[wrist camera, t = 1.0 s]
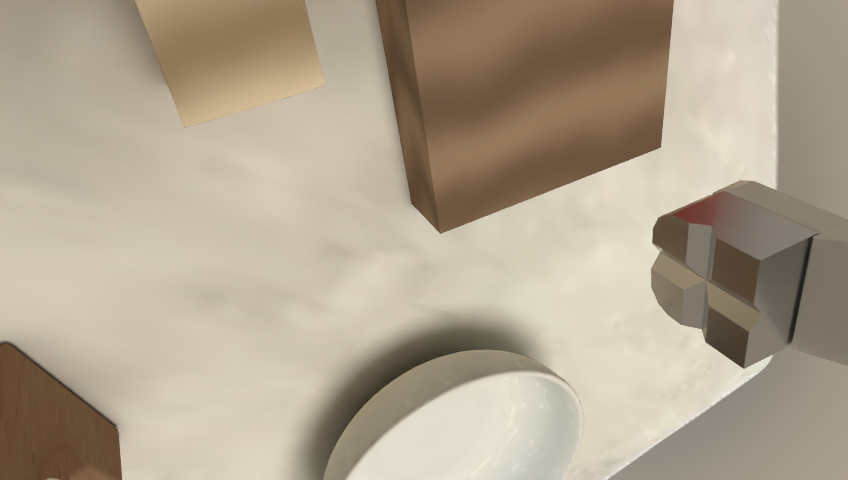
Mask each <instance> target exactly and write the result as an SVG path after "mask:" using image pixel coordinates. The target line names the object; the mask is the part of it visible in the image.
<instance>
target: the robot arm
mask: <svg viewBox="0 0 848 480" xmlns="http://www.w3.org/2000/svg"><path fill="white" fill-rule="evenodd" d="M652 243H653V244H654V246H655V247H656V248H657V249H658V250H659V251H660V253H659V255H658V257H657V259H656V260H655V262H654V264H653V266H652V268H651V287H652V289H653V292H654V294H655V296H656V299H657V301H658V303H659V305H660V306H661V307H662V308H663V310H664V311H665V312H666V313H667V314H668V315H669V316H670V317H671V318H673V319H674V320H676V321H677V322H678V323H680V324H681V325H685V326H689V327H694V328H699V329H702V332H703V336H704V339H705V342H706V343H708V344H709V345H710V346H712V347H713V348H715V349H716V350H718V351H719V352H720V353H722V354H723V355H725V356H726V357H728V358H729V359H730V360H732V361H733V362H735V363H736V364H737V365H739V366H740V367H742V368H743V369H745V368H747V367H749V366H751V365H753V364H755V363H757V362H759V361H761V360H763V359H765V358H767V357H769V356H771V355H773V354H775V353H777V352H779V351H780V350H783V349H784V348H786V347H788V346H790V345H792V346H791V348H792V349H794V350H797V351H801V352H804V353H808V354H810V355H814V356H817V357H820V358H824V359H827V360H830V361H834V362H837V363H840V364H844V365H847V366H848V219H845V218H843V217H840V216H838V215H836V214H833V213H831V212H828V211H826V210H823V209H821V208H818V207H816V206H814V205H811V204H809V203H806V202H804V201H801V200H799V199H796V198H794V197H792V196H789V195H786V194H784V193H782V192H779V191H777V190H774V189H772V188H770V187H767V186H765V185H762V184H760V183H757V182H755V181H742V180H740V181H738V182H736V183H734V184H731V185H729V186H727V187H725V188H723V189H720V190H718V191H716V192H714V193H713V194H712V195H709V196H707V197H704V198H702V199H700V200H697V201H695V202H693V203H691V204H688V205H686V206H684V207H681V208H679V209H677V210H675V211H672V212H670V213H668V214H665V215H663V216H661V217H659V218H658V220H657V222H656V224H655V226H654V228H653V240H652ZM46 480H60V479H54V478H48V479H46Z"/></svg>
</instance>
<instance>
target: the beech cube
mask: <svg viewBox="0 0 848 480" xmlns="http://www.w3.org/2000/svg"><path fill="white" fill-rule="evenodd" d="M135 3H136V5H137V8H138V10H139V13H140V15H141V18H142V21H143V23H144V26H145V28H146V31H147V33H148V36H149V38H150V41H151V44H152V46H153V49H154V51H155V54H156V56H157V59H158V61H159V64H160V67H161V69H162V72H163V74H164V77H165V79H166V82H167V84H168V87H169V90H170V92H171V95H172V97H173V100H174V102H175V105H176V107H177V110H178V113H179V115H180V118H181V120H182V123H183V125H184V128H186V127H189V126H192V125H196V124H199V123H202V122H206V121H209V120H212V119H216V118H219V117H222V116H226V115H229V114H232V113H236V112H239V111H242V110H246V109H249V108H252V107H256V106H259V105H262V104H266V103H269V102H272V101H276V100H279V99H282V98H286V97H289V96H292V95H296V94H299V93H302V92H306V91H309V90H312V89H316V88H319V87H322V86H325V85H324V80H323V76H322V72H321V68H320V64H319V60H318V55H317V51H316V47H315V43H314V39H313V35H312V31H311V26H310V22H309V18H308V14H307V10H306V6H305V1H304V0H135Z"/></svg>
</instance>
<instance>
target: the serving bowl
mask: <svg viewBox="0 0 848 480" xmlns="http://www.w3.org/2000/svg"><path fill="white" fill-rule="evenodd" d="M583 427H584V417H583V410H582V406H581V402H580V400H579V398H578V395H577V394H576V392H575V391H574V389H573V388H572V387H571V386H570V385H569V384H568V383H567V382H566V381H565V380H563V379H562V378H561V377H560V376H558V375H557V374H556V373H554V372H553V371H551V370H550V369H549V368H547V367H546V366H544V365H542V364H541V363H539V362H537V361H535V360H532V359H530V358H528V357H525V356H522V355H519V354H516V353H512V352H507V351H500V350H470V351H462V352H457V353H453V354H448V355H445V356H441V357H438V358H435V359H433V360H430V361H427V362H425V363H423V364H421V365H418V366H416V367H415V368H413V369H411V370H409V371H407V372H405V373H404V374H402V375H401V376H399V377H398V378H396V379H394V380H393V381H392V382H390V383H389V384H388V385H386V386H385V387H384V388H382V389H381V390H380V391H379V392H378V393H376V394H375V395H374V396H373V397H372V398H371V399H370V400H369V401H368V402H367V403H366V404H365V405H364V406H363V407H362V408H361V409H360V410H359V412H358V413H357V414H356V415H355V416H354V418H353V419H352V420H351V421H350V423H349V424H348V426H347V427H346V429H345V430H344V432H343V433H342V435H341V437H340V438H339V440H338V442H337V444H336V446H335V448H334V450H333V452H332V454H331V456H330V459H329V462H328V465H327V467H326V471H325V474H324V478H323V480H565V478H566V476H567V475H568V473H569V471H570V469H571V467H572V465H573V463H574V461H575V458H576V456H577V453H578V450H579V447H580V444H581V439H582V435H583Z"/></svg>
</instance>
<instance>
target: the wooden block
mask: <svg viewBox="0 0 848 480" xmlns="http://www.w3.org/2000/svg"><path fill="white" fill-rule="evenodd" d="M48 478H54V479H60V480H122V472H121V459H120V446H119V433H118V430H117V428H116V427H115V426H113V425H112V424H111V423H110V422H108V421H107V420H106V419H104V418H103V417H102V416H101V415H99V414H98V413H97V412H96V411H94V410H93V409H92V408H90V407H89V406H88V405H87V404H85V403H84V402H83V401H81V400H80V399H79V398H78V397H76V396H75V395H74V394H72V393H71V392H70V391H69V390H67V389H66V388H65V387H64V386H62V385H61V384H60V383H58V382H57V381H56V380H55V379H53V378H52V377H51V376H50V375H48V374H47V373H46V372H44V371H43V370H42V369H41V368H39V367H38V366H37V365H35V364H34V363H33V362H32V361H30V360H29V359H28V358H27V357H25V356H24V355H23V354H21V353H20V352H19V351H18V350H16V349H15V348H14V347H12V346H11V345H9V344H3V345H1V346H0V480H46V479H48Z"/></svg>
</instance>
